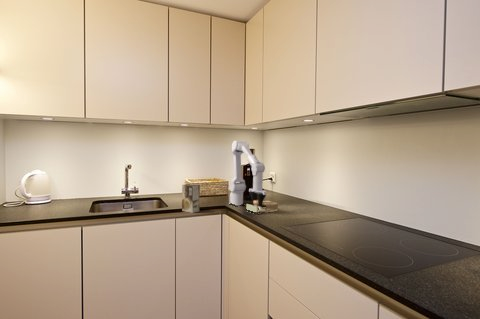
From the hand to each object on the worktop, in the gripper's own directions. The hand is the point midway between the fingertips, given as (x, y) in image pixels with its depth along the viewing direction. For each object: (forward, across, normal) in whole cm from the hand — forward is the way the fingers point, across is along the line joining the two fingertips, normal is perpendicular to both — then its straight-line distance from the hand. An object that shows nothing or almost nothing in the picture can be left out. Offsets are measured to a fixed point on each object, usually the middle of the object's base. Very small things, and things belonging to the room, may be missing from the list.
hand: (257, 205), depth 170 cm
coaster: (-1, 0, 0) cm, 1 cm away
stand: (+4, -10, +8) cm, 13 cm away
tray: (+4, 0, 0) cm, 4 cm away
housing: (+4, 0, +8) cm, 9 cm away
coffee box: (+5, -23, -34) cm, 41 cm away
